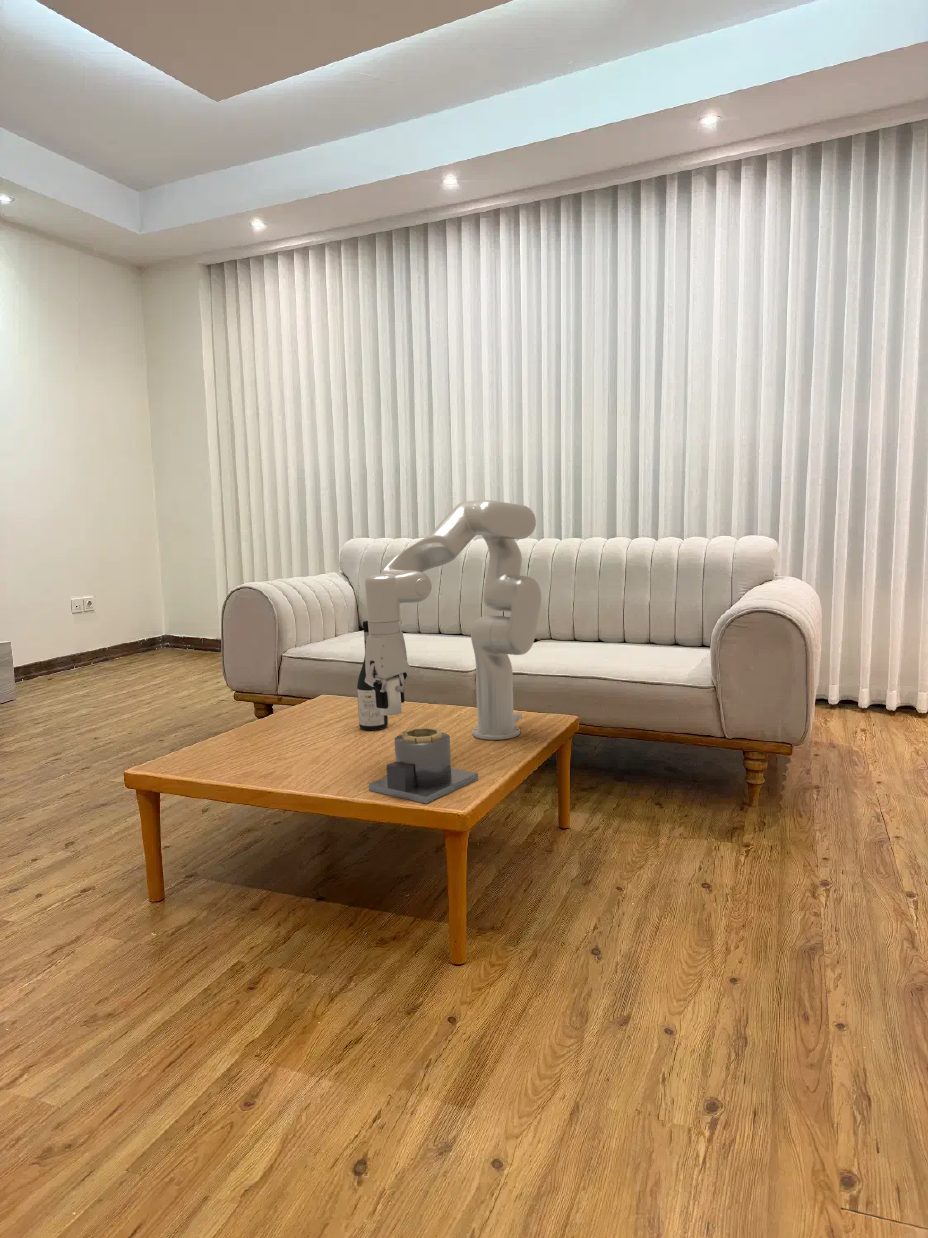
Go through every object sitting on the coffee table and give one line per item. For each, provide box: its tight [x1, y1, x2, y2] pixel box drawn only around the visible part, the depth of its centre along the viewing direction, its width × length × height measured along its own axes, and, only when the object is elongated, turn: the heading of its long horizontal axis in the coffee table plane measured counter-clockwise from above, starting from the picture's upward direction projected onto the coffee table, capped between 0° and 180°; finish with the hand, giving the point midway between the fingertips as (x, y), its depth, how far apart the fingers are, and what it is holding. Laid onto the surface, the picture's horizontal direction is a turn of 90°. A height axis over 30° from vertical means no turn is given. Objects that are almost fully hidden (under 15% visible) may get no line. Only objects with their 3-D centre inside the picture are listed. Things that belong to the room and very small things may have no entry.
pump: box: [379, 676, 406, 716], centre depth 194 cm, size 5×7×8 cm
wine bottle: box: [356, 620, 389, 731], centre depth 232 cm, size 8×8×30 cm
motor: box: [368, 726, 479, 805], centre depth 182 cm, size 18×16×12 cm
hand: (390, 704), depth 195 cm, fingers closed on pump, 5 cm apart
